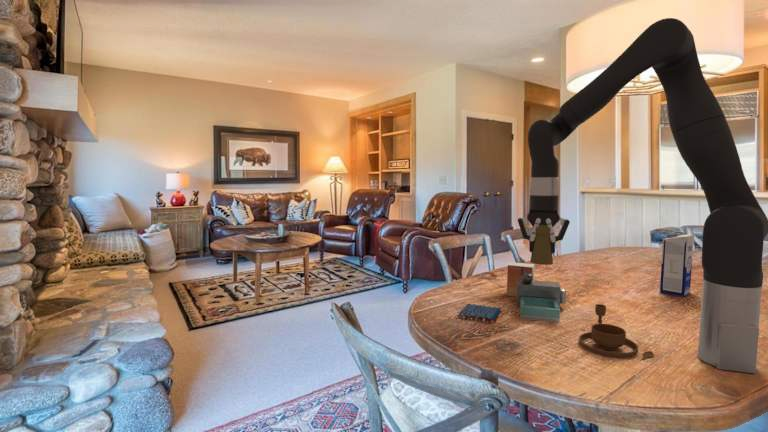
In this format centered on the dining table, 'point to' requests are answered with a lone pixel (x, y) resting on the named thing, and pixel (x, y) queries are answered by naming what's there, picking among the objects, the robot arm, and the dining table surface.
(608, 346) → the place setting
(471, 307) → the woven mat
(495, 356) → the dining table surface
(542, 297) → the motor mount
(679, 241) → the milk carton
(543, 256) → the cork
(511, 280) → the small box
